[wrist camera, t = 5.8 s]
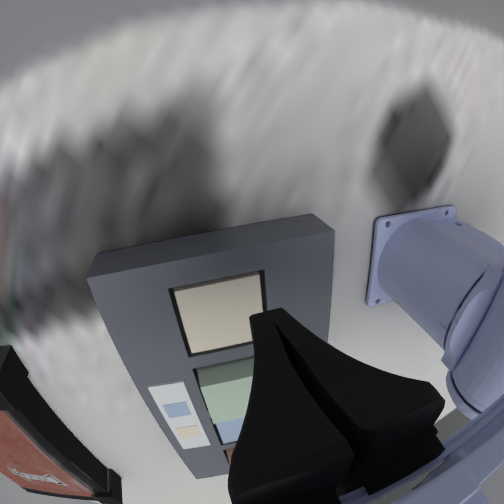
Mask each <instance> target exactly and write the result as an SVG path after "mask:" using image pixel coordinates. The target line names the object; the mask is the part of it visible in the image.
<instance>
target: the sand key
mask: <svg viewBox="0 0 504 504" xmlns="http://www.w3.org/2000/svg"><path fill="white" fill-rule="evenodd" d="M174 293H175V297H176V300H177V304H178V308H179V311H180V315H181V318H182V322H183V325H184V329H185V332H186V336H187V339H188V342H189V346H190V349H191V352H192V353H197V352H202V351H207V350H212V349H217V348H221V347H226V346H231V345H235V344H240V343H244V342H248V341H252V335H251V329H250V322H249V317H250V316H251V315H252V314H256V313H261V312H263V309H262V298H261V286H260V275H259V273H258V271H254V272H249V273H244V274H239V275H234V276H229V277H224V278H219V279H214V280H209V281H204V282H199V283H194V284H189V285H184V286H179V287H174Z"/></svg>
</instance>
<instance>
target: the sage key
mask: <svg viewBox="0 0 504 504" xmlns="http://www.w3.org/2000/svg"><path fill="white" fill-rule="evenodd" d="M253 367H254V356H250V357H246V358H241V359H237V360H233V361H228V362H223V363H219V364H214V365H209V366H204V367H199V368H197V371H198V377H199V383H200V388H201V391H202V394H203V397H204V399H205V402H206V405H207V408H208V410H209V413H210V416H211V418H212V421H213V424H216V423H221V422H226V421H230V420H235V419H239V418H244V417H245V414H246V411H247V406H248V402H249V397H250V392H251V385H252V378H253Z"/></svg>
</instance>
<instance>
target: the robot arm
mask: <svg viewBox="0 0 504 504" xmlns="http://www.w3.org/2000/svg"><path fill="white" fill-rule="evenodd" d="M455 216H456V207H455V206H452V205H450V206H444V207H438V208H432V209H426V210H421V211H415V212H409V213H403V214H397V215H391V216H386V217H380V218H378V219H377V221H376V223H375V231H374V242H373V252H372V262H371V270H370V278H369V286H368V293H367V300H366V304H367V305H368V306H369V307H374V306H377V305H380V304H383V303H386V302H389V301H392V300H394V301H395V302H396V303H397V304H398V305H399V306H400V307H401V308H402V309H403V310H404V311H405V312H406V313H407V314H408V315H409V316H410V317H411V318H413V319H414V320H415V321H416V322H417V323H418V324H419V325H420V326H421V327H422V328H423V329H424V330H425V331H426V332H427V333H428V334H429V335H430V336H431V337H432V338H433V339H434V340H435V341H436V343H437V344H438V345H439V346H440V347H441V348H442V349H443V350H444V351H445V353H444V355H443V357H442V359H441V361H442V362H443V363H444V365H445V366H446V367H447V368H448V369H449V370H448V373H447V376H446V385H447V389H448V392H449V394H450V396H451V398H452V400H453V402H454V404H455V405H456V407H457V408H458V409H459V410H460V411H461V412H462V413H463V414H464V415H465V416H467V417H468V418H470V419H472V421H471V422H470V423H468V424H467V425H466V426H464V427H463V428H462V429H460V430H459V431H458V432H456V433H455V434H453V435H452V436H450V437H449V438H448V439H446V440H445V441H443V442H442V443H441V442H440V441H439V439H438V438H437V436H436V434H437V433H438V431H437V429H436V428H435V426H434V423H435V422H436V420H437V418H438V417H439V415H440V414H441V412H442V410H443V408H444V405H445V400H444V399H443V397H442V396H441V395H440V394H439V392H438V391H437V390H436V389H435V388H434V387H433V386H432V385H431V384H430V383H429V382H426V381H421V380H416V379H411V378H406V377H402V376H398V375H395V374H392V373H388V372H385V371H382V370H380V369H377V368H375V367H372V366H370V365H367V364H365V363H362V362H360V361H358V360H356V359H354V358H352V357H350V356H348V355H346V354H344V353H343V352H341V351H339V350H338V349H336V348H334V347H333V346H331V345H330V344H328V343H326V342H325V341H324V340H322V339H321V338H319V337H318V336H316V335H315V334H314V333H312V332H311V331H310V330H308V329H307V328H306V327H305V326H303V325H302V324H301V323H300V322H298V321H297V320H296V319H295V318H294V317H292V316H291V315H290V314H289V313H288V312H287V311H286V310H285V309H283V308H282V307H280V308H277V309H273V310H269V311H265V312H261V313H256V314H252V315H251V316H250V317H249V322H250V329H251V335H252V342H253V348H254V367H253V378H252V385H251V392H250V397H249V402H248V406H247V411H246V414H245V418H244V421H243V425H242V428H241V431H240V434H239V437H238V440H237V442H236V445H235V448H234V450H233V453H232V455H231V463H230V468H229V476H228V491H229V495H230V498H231V502H232V504H370V503H372V502H374V501H376V500H378V499H380V498H382V497H384V496H386V495H388V494H390V493H392V492H394V491H396V490H398V489H399V488H401V487H403V486H405V485H406V484H408V483H410V482H412V481H413V480H415V479H416V478H418V477H420V476H422V475H423V474H425V473H426V472H428V471H429V470H431V469H433V468H434V467H435V466H437V465H438V464H440V463H441V464H440V465H439V466H438V467H436V468H435V469H434V470H432V471H431V472H430V473H429V474H428V475H427V477H426V478H425V479H424V480H423V481H421V482H420V483H419V484H418V485H417V486H415V487H414V488H413V489H412V492H410V493H408V494H406V495H405V496H403V497H401V498H399V499H398V500H396V501H394V502H392V503H390V504H491V503H490V501H489V500H488V498H487V497H486V495H485V494H484V492H483V491H482V489H481V488H480V484H481V483H482V482H483V481H485V480H486V479H487V478H488V477H489V476H490V475H491V474H492V473H493V472H494V471H495V470H496V469H497V468H498V467H499V466H500V465H501V464H502V463H503V462H504V246H503V245H502V244H501V243H500V242H499V241H497V240H495V239H494V238H492V237H490V236H488V235H487V234H485V233H483V232H481V231H480V230H478V229H476V228H474V227H472V226H470V225H469V224H467V223H465V222H463V221H461V220H459V219H457V218H455ZM387 221H388V223H387V225H385V224H386V222H387ZM444 460H445V461H444ZM443 461H444V462H443ZM442 462H443V463H442Z"/></svg>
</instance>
